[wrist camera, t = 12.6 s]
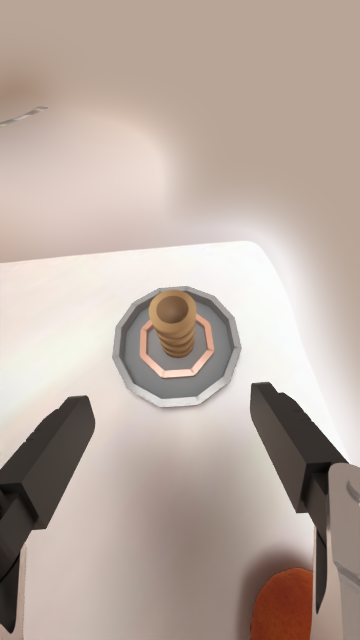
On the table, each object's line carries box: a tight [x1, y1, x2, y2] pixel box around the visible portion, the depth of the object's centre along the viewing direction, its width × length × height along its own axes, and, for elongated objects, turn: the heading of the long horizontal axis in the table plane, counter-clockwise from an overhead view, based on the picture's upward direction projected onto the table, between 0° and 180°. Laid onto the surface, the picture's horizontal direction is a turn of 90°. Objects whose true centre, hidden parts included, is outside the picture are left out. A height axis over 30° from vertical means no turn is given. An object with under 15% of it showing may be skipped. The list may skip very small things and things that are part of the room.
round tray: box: [112, 286, 241, 408], centre depth 24 cm, size 16×16×2 cm
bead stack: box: [149, 290, 196, 358], centre depth 20 cm, size 4×4×9 cm
